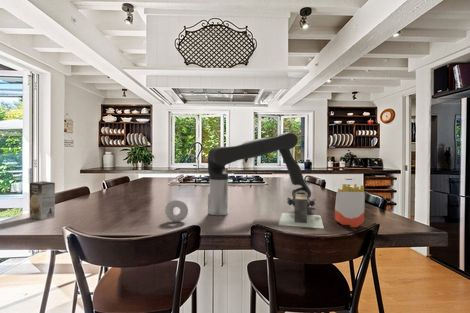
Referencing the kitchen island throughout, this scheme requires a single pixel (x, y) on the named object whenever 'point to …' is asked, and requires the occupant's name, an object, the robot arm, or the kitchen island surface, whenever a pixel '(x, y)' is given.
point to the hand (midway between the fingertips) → (301, 204)
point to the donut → (179, 204)
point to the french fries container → (350, 205)
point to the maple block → (301, 208)
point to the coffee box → (42, 200)
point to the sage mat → (312, 222)
